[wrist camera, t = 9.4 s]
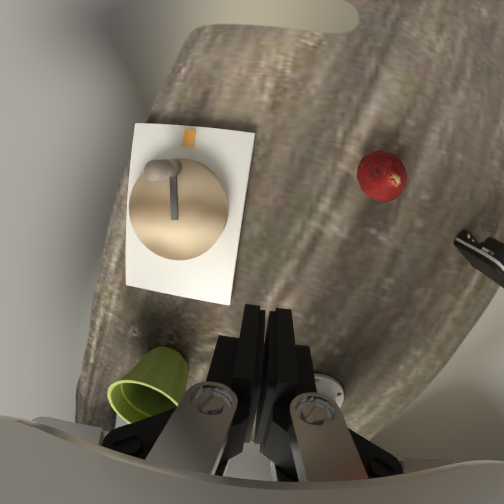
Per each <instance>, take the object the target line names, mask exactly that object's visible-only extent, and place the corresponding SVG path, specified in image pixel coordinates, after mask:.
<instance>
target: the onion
mask: <svg viewBox="0 0 504 504" xmlns="http://www.w3.org/2000/svg"><path fill="white" fill-rule="evenodd" d="M357 178H358V181H359V184H360V187H361V189H362V190H363V191H364V192H365V194H366V195H367V196H369V197H370V198H372V199H374V200H377V201H383V202H388V201H391V200H394V199H396V198H397V197H398V196H399V195H400V194H401V193H402V192H403V190H404V188H405V186H406V180H407V174H406V169H405V167H404V165H403V163H402V162H401V160H400V159H399V158H397V157H396V156H395V155H393V154H392V153H388V152H385V151H376V152H372V153H370V154H368V155H367V156H365V157H364V158H363V159H362V160H361V162H360V164H359V166H358V171H357Z"/></svg>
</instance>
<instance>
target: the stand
mask: <svg viewBox="0 0 504 504" xmlns="http://www.w3.org/2000/svg"><path fill="white" fill-rule="evenodd" d="M255 135H256V134H255V133H249V132H242V131H234V130H226V129H217V128H207V127H196V126H183V125H168V124H146V123H144V124H143V123H136V124H135V130H134V137H133V146H132V154H131V163H130V174H129V186H128V201H127V221H126V285H129V286H133V287H138V288H143V289H147V290H152V291H157V292H161V293H166V294H171V295H176V296H181V297H186V298H192V299H197V300H202V301H208V302H213V303H219V304H224V305H230V302H231V296H232V289H233V282H234V275H235V268H236V261H237V254H238V247H239V240H240V233H241V226H242V220H243V213H244V206H245V199H246V193H247V186H248V180H249V173H250V167H251V160H252V154H253V148H254V141H255ZM160 159H189V160H193V161H197V162H199V163H201V164H203V165H205V166H206V167H208V168H209V169H210V170H211V171H213V172H214V173H215V174H216V176H217V177H218V178H219V179H220V181H221V182H222V184H223V186H224V188H225V191H226V194H227V198H228V206H229V211H228V219H227V223H226V226H225V228H224V230H223V232H222V234H221V235H220V237H219V239H218V240H217V242H216V243H215V244H214V245H213V246H212V247H211V248H210V249H209V250H208V251H207V252H205V253H203V254H202V255H200V256H198V257H196V258H192V259H188V260H170V259H166V258H163V257H161V256H158V255H157V254H155V253H153V252H152V251H150V250H149V249H148V248H147V247H145V246H144V245H143V243H142V242H141V241H140V240H139V238H138V237H137V235H136V234H135V232H134V230H133V227H132V224H131V221H130V216H129V199H130V195H131V191H132V189H133V186H134V184H135V182H136V181H137V179H138V178H139V176H140V175H141V174H142V173H143V172H144V168H145V165H146V164H147V163H148V162H149V161H151V160H160Z"/></svg>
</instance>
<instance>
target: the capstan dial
mask: <svg viewBox="0 0 504 504" xmlns="http://www.w3.org/2000/svg"><path fill="white" fill-rule="evenodd" d="M228 211H229V206H228V198H227V194H226V191H225V188H224V186H223V184H222V182H221V181H220V179H219V178H218V177H217V176H216V174H215V173H214V172H213V171H211V170H210V169H209V168H208V167H206V166H205V165H203V164H201V163H199V162H197V161H193V160H189V159H160V160H151V161H149V162H148V163H147V164H146V165H145V168H144V172H143V173H142V174H141V175H140V176H139V178H138V179H137V181H136V182H135V184H134V186H133V189H132V191H131V195H130V199H129V216H130V221H131V224H132V227H133V230H134V232H135V234H136V235H137V237H138V238H139V240H140V241H141V242H142V243H143V245H144V246H145V247H147V248H148V249H149V250H150V251H152V252H153V253H155V254H157V255H158V256H161V257H163V258H166V259H170V260H188V259H192V258H196V257H198V256H200V255H202V254H203V253H205V252H207V251H208V250H209V249H210V248H211V247H212V246H213V245H214V244H215V243H216V242H217V240H218V239H219V237H220V235H221V234H222V232H223V230H224V228H225V226H226V223H227V219H228Z"/></svg>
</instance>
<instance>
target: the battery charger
mask: <svg viewBox="0 0 504 504" xmlns="http://www.w3.org/2000/svg"><path fill="white" fill-rule="evenodd" d="M454 245H455V246H456V247H457V248H458V249H459V251H460V252H461V253H462V254H463V255H464V256H465V258H466V259H467V260H468V261H469V262H470V264H471V265H472V266H473V267H475V268H476V269H478V270H479V271H480V272H482V273H483V274H485V275H486V276H488V277H489V278H490V279H492V280H493V281H494V282H496V283H497V284H499V285H500V286H501V287H503V288H504V244H503V243H502V242H500V241H498V240H496V239H495V238H491V237H488V238H487V239H486V240H485V242H481V243H478V242H477V241H476V239H475V238H474V237H473V236H472V234H471V233H470V232H469V231H467V230H464V231H462V232H461V233H460V234H459V236H458V237H457V238H456V239H455V242H454Z"/></svg>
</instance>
